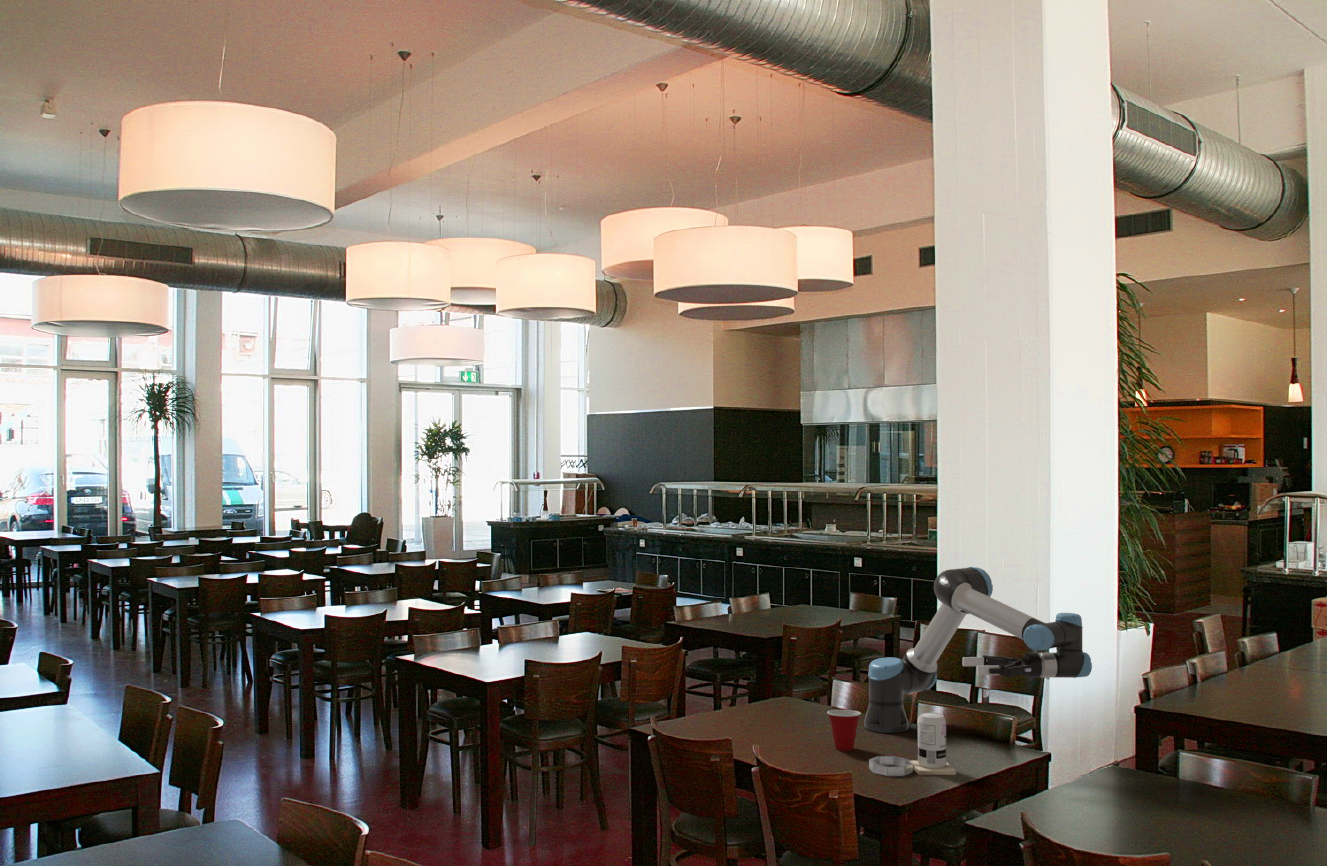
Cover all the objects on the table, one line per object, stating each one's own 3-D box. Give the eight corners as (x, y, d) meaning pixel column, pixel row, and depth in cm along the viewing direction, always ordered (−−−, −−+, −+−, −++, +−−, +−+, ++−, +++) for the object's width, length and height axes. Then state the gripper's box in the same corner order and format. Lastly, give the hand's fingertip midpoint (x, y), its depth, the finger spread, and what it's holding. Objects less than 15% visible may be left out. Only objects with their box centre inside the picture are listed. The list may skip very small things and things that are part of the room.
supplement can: (914, 761, 317) (914, 712, 318) (940, 761, 318) (940, 711, 318) (923, 769, 309) (922, 718, 309) (950, 769, 310) (949, 718, 310)
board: (908, 764, 319) (908, 760, 319) (944, 763, 319) (944, 759, 319) (919, 775, 308) (919, 771, 308) (955, 774, 308) (955, 770, 308)
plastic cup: (859, 744, 341) (859, 707, 342) (862, 753, 331) (862, 715, 331) (826, 743, 342) (826, 706, 343) (828, 752, 332) (827, 714, 332)
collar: (866, 764, 319) (866, 756, 319) (905, 763, 319) (905, 755, 319) (875, 776, 307) (875, 767, 307) (916, 775, 307) (916, 767, 307)
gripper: (1055, 686, 307) (984, 687, 306) (1023, 669, 332) (957, 670, 331) (1055, 660, 307) (983, 661, 306) (1022, 645, 332) (956, 646, 331)
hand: (969, 666), depth 319 cm, fingers open, 13 cm apart
